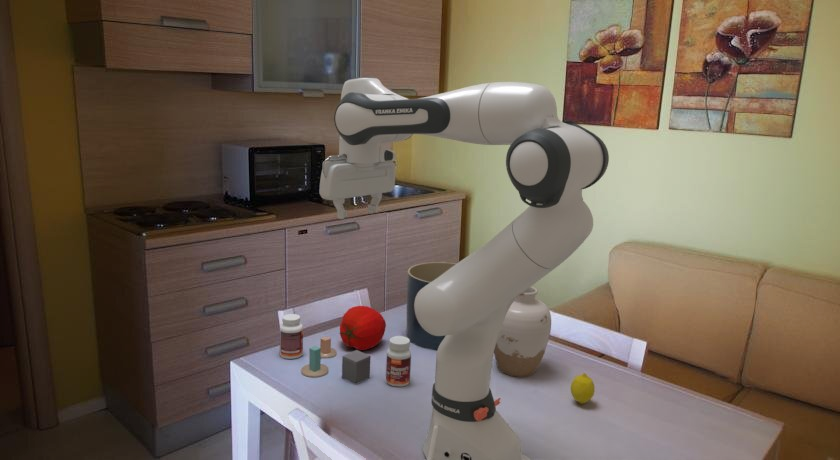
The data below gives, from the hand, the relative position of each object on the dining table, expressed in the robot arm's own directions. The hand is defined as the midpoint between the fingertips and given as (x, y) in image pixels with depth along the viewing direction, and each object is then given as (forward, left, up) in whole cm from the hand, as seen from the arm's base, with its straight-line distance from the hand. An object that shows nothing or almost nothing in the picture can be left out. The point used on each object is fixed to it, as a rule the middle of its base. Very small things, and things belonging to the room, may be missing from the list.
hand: (357, 215), depth 135 cm
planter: (+7, -44, -45) cm, 63 cm away
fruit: (-42, -36, -45) cm, 71 cm away
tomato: (+19, -22, -45) cm, 53 cm away
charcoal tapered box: (+6, -7, -44) cm, 45 cm away
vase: (-21, -41, -45) cm, 64 cm away
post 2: (+22, -11, -44) cm, 51 cm away
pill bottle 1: (+28, -4, -45) cm, 53 cm away
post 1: (+16, -2, -44) cm, 47 cm away
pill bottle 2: (-3, -13, -45) cm, 46 cm away
